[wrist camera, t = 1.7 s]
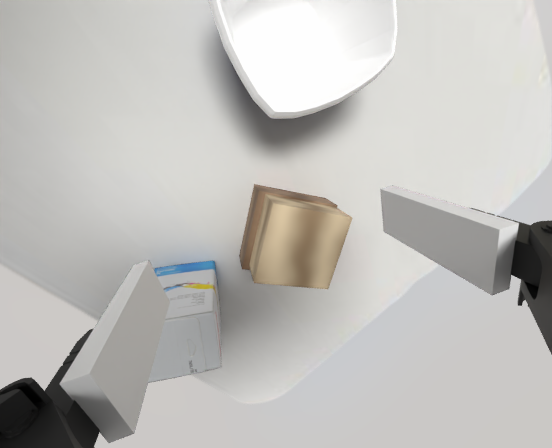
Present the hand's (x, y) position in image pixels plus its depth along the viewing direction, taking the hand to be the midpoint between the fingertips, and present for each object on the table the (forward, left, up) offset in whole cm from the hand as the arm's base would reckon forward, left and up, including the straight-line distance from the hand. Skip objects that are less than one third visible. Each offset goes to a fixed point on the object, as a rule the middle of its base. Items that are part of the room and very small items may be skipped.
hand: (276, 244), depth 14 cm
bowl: (+2, +16, -22) cm, 28 cm away
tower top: (+8, -6, -18) cm, 21 cm away
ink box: (-4, -18, -22) cm, 29 cm away
